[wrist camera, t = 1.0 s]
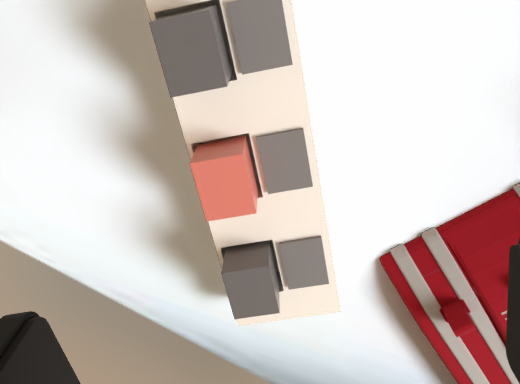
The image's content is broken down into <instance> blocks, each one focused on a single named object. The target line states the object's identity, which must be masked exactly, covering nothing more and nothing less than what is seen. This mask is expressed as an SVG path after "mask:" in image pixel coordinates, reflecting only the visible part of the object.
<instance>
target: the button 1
mask: <svg viewBox="0 0 520 384" xmlns="http://www.w3.org/2000/svg"><path fill="white" fill-rule="evenodd" d="M149 24H150V27H151V31H152V34H153V38H154V41H155V45H156V48H157V52H158V55H159V59H160V62H161V65H162V69H163V72H164V76H165V79H166V83H167V86H168V90H169V93H170V97H171V98H172V97H177V96H182V95H187V94H192V93H197V92H202V91H208V90H213V89H218V88H223V87H227V86H228V83H229V80H230V78H231V75H232V73H231V68H230V64H229V59H228V55H227V50H226V46H225V41H224V37H223V33H222V28H221V24H220V19H219V15H218V10H217V6H216V5H211V6H207V7H202V8H197V9H193V10H188V11H183V12H179V13H174V14H170V15H165V16H161V17H159V18H157V19H155V20H153V21H151V22H149Z"/></svg>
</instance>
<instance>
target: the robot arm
mask: <svg viewBox="0 0 520 384" xmlns="http://www.w3.org/2000/svg"><path fill="white" fill-rule="evenodd" d="M506 355H507V359H508V363H509V365H510V368H511V370H512V372H513V373H514V375H515V377H516V378H517V380H518V382H519V384H520V239H519V241H518V244H516V245H512V246H511V247H510V251H509V275H508V302H507V329H506ZM0 384H80V382H79V380H78V378H77V376H76V374H75V372H74V371H73V369H72V367H71V365H70V363H69V361H68V360H67V357H66V356H65V354H64V352H63V350H62V348H61V346H60V344H59V342H58V341H57V339H56V337H55V335H54V333H53V331H52V329H51V327H50V325H49V324H48V322H47V321H46V319H45V318H43V317H39V315H38V314H37V313H35V312H24V313H17V314H10V315H6V316H3V317H2V318H1V319H0Z"/></svg>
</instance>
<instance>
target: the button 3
mask: <svg viewBox="0 0 520 384" xmlns="http://www.w3.org/2000/svg"><path fill="white" fill-rule="evenodd" d="M221 274H222V277H223V281H224V284H225V288H226V291H227V294H228V298H229V301H230V305H231V308H232V312H233V315H234V319H241V318H248V317H255V316H263V315H270V314H277V313H280V302H279V282H278V277H277V273H276V268H275V264H274V259H273V255H272V251H271V246H270V242H269V240H266V241H260V242H254V243H247V244H241V245H235V246H228V247H226V248H225V254H224V260H223V266H222V273H221Z"/></svg>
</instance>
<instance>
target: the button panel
mask: <svg viewBox="0 0 520 384" xmlns="http://www.w3.org/2000/svg"><path fill="white" fill-rule="evenodd" d="M145 2H146V6H147V9H148V13H149V16H150V20H151V21H153V20H155V19H157V18H159V17H161V16H165V15H170V14H174V13H179V12H183V11H188V10H193V9H197V8H202V7H207V6H211V5H216V6H217V10H218V15H219V19H220V24H221V28H222V33H223V37H224V41H225V46H226V50H227V55H228V59H229V64H230V68H231V73H232V75H231V78H230V80H229V83H228V86H227V87H223V88H218V89H213V90H208V91H202V92H197V93H192V94H187V95H182V96H177V97H173V100H174V104H175V107H176V111H177V114H178V118H179V121H180V125H181V128H182V132H183V135H184V139H185V142H186V146H187V149H188V153H189V156H190V160H191V159H192V157H193V155H194V152H195V150H196V147H197V145H198V144H203V143H209V142H214V141H220V140H225V139H231V138H236V137H242V136H246V139H247V144H248V148H249V153H250V157H251V162H252V166H253V170H254V175H255V179H256V184H257V188H258V199H257V213H256V214H250V215H244V216H238V217H232V218H226V219H220V220H214V221H208V222H209V226H210V229H211V233H212V236H213V240H214V243H215V247H216V250H217V254H218V257H219V261H220V264H221V268H222V266H223V260H224V254H225V248H226V247H228V246H235V245H241V244H247V243H254V242H260V241H266V240H269V242H270V246H271V251H272V255H273V259H274V264H275V268H276V273H277V277H278V282H279V302H280V313H277V314H270V315H263V316H255V317H248V318H241V319H236V320H237V324H238V326H242V325H249V324H256V323H264V322H271V321H278V320H285V319H292V318H300V317H307V316H314V315H321V314H329V313H336V312H340V305H339V299H338V293H337V286H336V280H335V274H334V268H333V261H332V255H331V249H330V242H329V236H328V230H327V223H326V217H325V211H324V205H323V198H322V192H321V186H320V179H319V173H318V167H317V160H316V154H315V148H314V141H313V135H312V129H311V123H310V116H309V110H308V104H307V97H306V91H305V85H304V78H303V72H302V66H301V60H300V53H299V47H298V41H297V34H296V28H295V22H294V15H293V9H292V3H291V0H145Z"/></svg>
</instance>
